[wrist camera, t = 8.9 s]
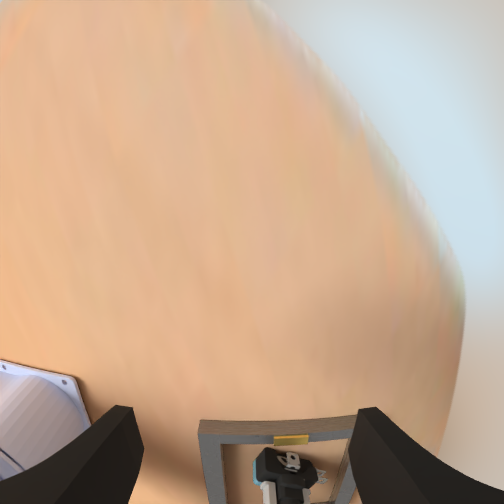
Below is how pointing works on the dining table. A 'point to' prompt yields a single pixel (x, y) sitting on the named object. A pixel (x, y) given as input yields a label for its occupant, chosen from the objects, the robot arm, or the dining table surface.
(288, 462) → the push button
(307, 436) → the frame
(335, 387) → the dining table surface
